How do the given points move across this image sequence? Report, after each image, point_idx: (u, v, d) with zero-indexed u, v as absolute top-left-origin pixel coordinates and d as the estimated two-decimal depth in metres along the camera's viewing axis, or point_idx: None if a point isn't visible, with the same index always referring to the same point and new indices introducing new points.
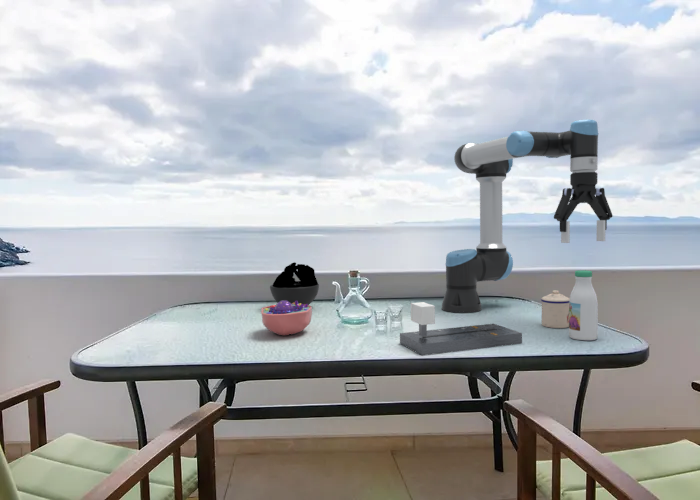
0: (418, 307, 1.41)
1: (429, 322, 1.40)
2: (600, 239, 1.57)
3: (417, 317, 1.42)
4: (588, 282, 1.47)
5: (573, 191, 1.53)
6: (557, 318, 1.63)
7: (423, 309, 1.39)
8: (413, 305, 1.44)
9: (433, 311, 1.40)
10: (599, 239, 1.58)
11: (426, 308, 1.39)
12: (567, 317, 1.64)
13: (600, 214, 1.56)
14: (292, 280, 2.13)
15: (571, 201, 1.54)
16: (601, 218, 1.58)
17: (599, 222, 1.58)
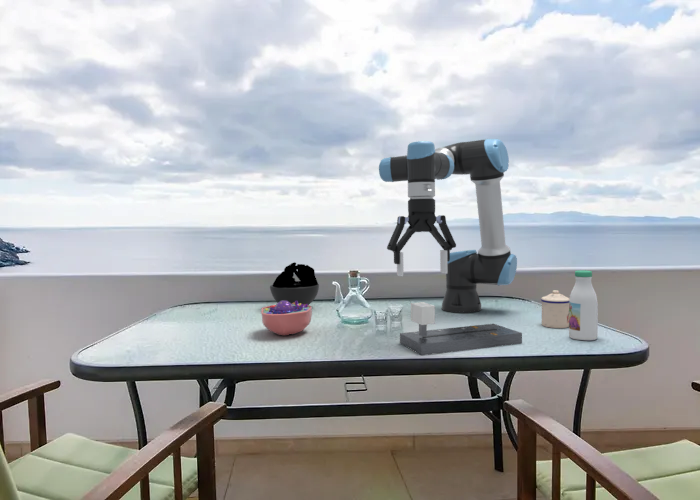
0: (418, 307, 1.41)
1: (429, 322, 1.40)
2: (443, 271, 1.44)
3: (417, 317, 1.42)
4: (588, 282, 1.47)
5: (408, 219, 1.39)
6: (557, 318, 1.63)
7: (423, 309, 1.39)
8: (413, 305, 1.44)
9: (433, 311, 1.40)
10: (442, 271, 1.44)
11: (426, 308, 1.39)
12: (567, 317, 1.64)
13: (442, 244, 1.43)
14: (292, 280, 2.13)
15: (407, 230, 1.41)
16: (444, 248, 1.44)
17: (442, 252, 1.44)
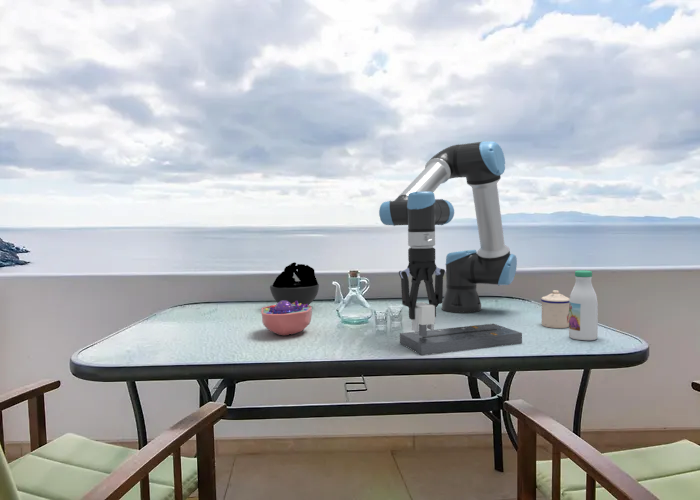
0: (418, 307, 1.41)
1: (429, 322, 1.40)
2: (429, 327, 1.44)
3: None
4: (588, 282, 1.47)
5: (409, 271, 1.40)
6: (557, 318, 1.63)
7: (423, 309, 1.39)
8: None
9: (433, 311, 1.40)
10: (428, 327, 1.44)
11: (426, 308, 1.39)
12: (567, 317, 1.64)
13: (430, 297, 1.43)
14: (292, 280, 2.13)
15: (412, 282, 1.42)
16: (430, 304, 1.44)
17: None
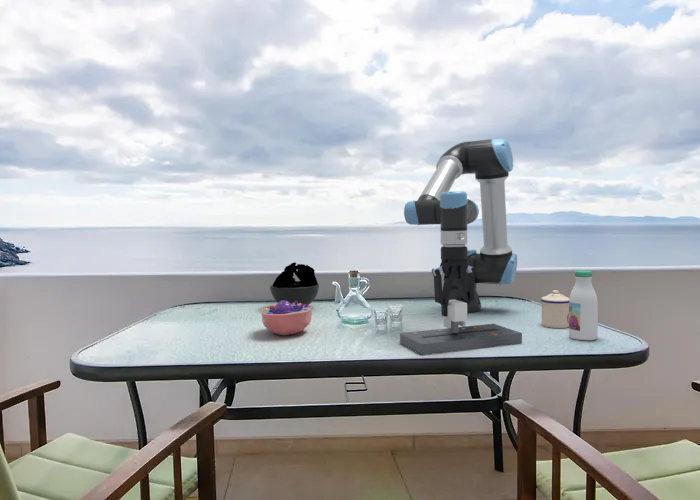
0: (451, 304, 1.44)
1: (462, 319, 1.43)
2: (461, 324, 1.47)
3: None
4: (588, 282, 1.47)
5: (442, 269, 1.44)
6: (557, 318, 1.63)
7: (456, 306, 1.42)
8: None
9: (465, 308, 1.43)
10: (460, 324, 1.47)
11: (459, 305, 1.43)
12: (567, 317, 1.64)
13: (462, 295, 1.46)
14: (292, 280, 2.13)
15: (445, 280, 1.45)
16: (462, 301, 1.47)
17: None
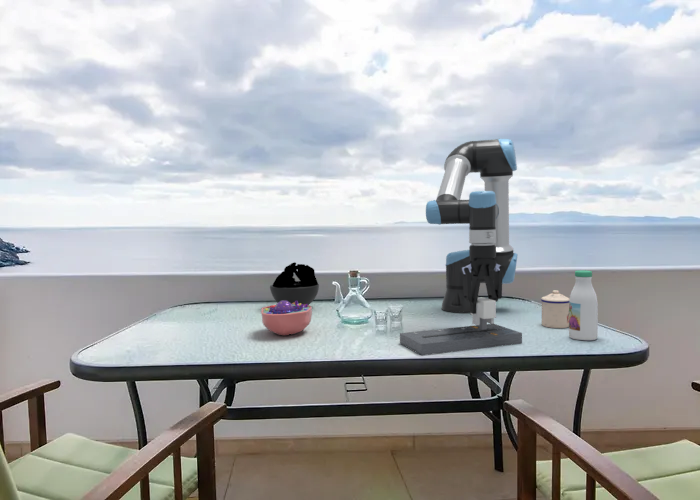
0: (479, 302, 1.47)
1: (490, 316, 1.46)
2: (489, 321, 1.50)
3: None
4: (588, 282, 1.47)
5: (471, 267, 1.47)
6: (557, 318, 1.63)
7: (485, 304, 1.45)
8: None
9: (494, 305, 1.46)
10: (488, 321, 1.50)
11: (488, 303, 1.46)
12: (567, 317, 1.64)
13: (490, 293, 1.49)
14: (292, 280, 2.13)
15: (473, 278, 1.48)
16: None
17: None
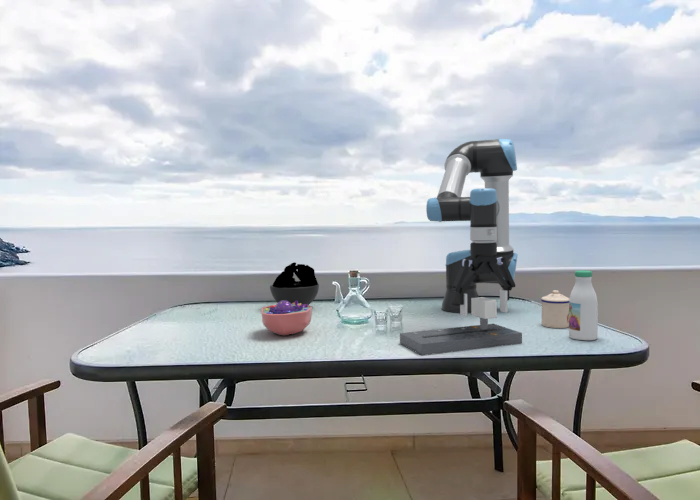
0: (480, 302, 1.47)
1: (491, 316, 1.46)
2: (503, 310, 1.51)
3: (479, 311, 1.48)
4: (588, 282, 1.47)
5: (471, 262, 1.47)
6: (557, 318, 1.63)
7: (486, 303, 1.45)
8: (474, 300, 1.50)
9: (495, 305, 1.46)
10: (502, 309, 1.52)
11: (489, 302, 1.46)
12: (567, 317, 1.64)
13: (502, 284, 1.50)
14: (292, 280, 2.13)
15: (470, 272, 1.48)
16: (504, 288, 1.52)
17: (502, 292, 1.51)
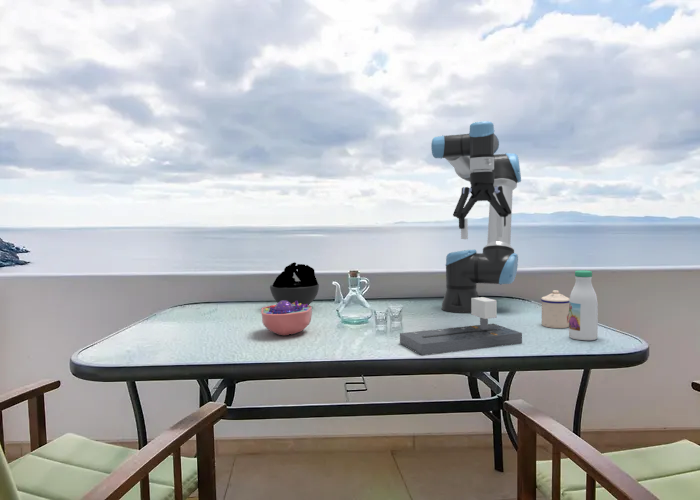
0: (480, 302, 1.47)
1: (491, 316, 1.46)
2: (500, 235, 1.66)
3: (479, 311, 1.48)
4: (588, 282, 1.47)
5: (471, 190, 1.61)
6: (557, 318, 1.63)
7: (486, 303, 1.45)
8: (474, 300, 1.50)
9: (495, 305, 1.46)
10: (499, 235, 1.66)
11: (489, 302, 1.46)
12: (567, 317, 1.64)
13: (499, 211, 1.65)
14: (292, 280, 2.13)
15: (470, 199, 1.62)
16: (501, 215, 1.66)
17: (499, 219, 1.66)
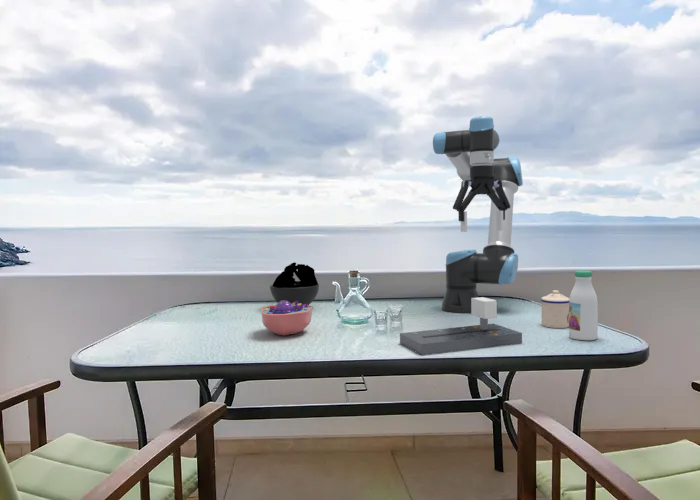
0: (480, 302, 1.47)
1: (491, 316, 1.46)
2: (499, 228, 1.68)
3: (479, 311, 1.48)
4: (588, 282, 1.47)
5: (471, 183, 1.63)
6: (557, 318, 1.63)
7: (486, 303, 1.45)
8: (474, 300, 1.50)
9: (495, 305, 1.46)
10: (498, 228, 1.68)
11: (489, 302, 1.46)
12: (567, 317, 1.64)
13: (498, 205, 1.67)
14: (292, 280, 2.13)
15: (470, 193, 1.65)
16: (500, 209, 1.68)
17: (498, 212, 1.68)
